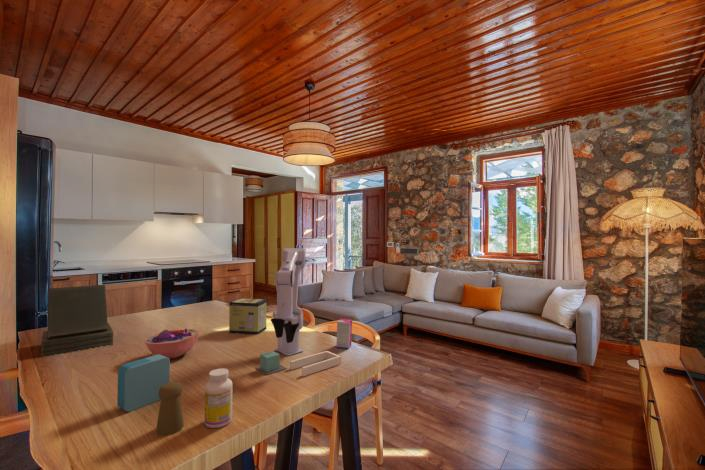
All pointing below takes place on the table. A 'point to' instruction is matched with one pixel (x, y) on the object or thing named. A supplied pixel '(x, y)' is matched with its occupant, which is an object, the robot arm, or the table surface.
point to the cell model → (172, 342)
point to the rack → (330, 362)
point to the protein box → (247, 316)
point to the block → (270, 361)
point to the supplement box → (344, 333)
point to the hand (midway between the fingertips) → (284, 339)
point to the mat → (271, 371)
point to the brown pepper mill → (170, 409)
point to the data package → (142, 381)
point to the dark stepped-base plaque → (76, 320)
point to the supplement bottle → (218, 399)
